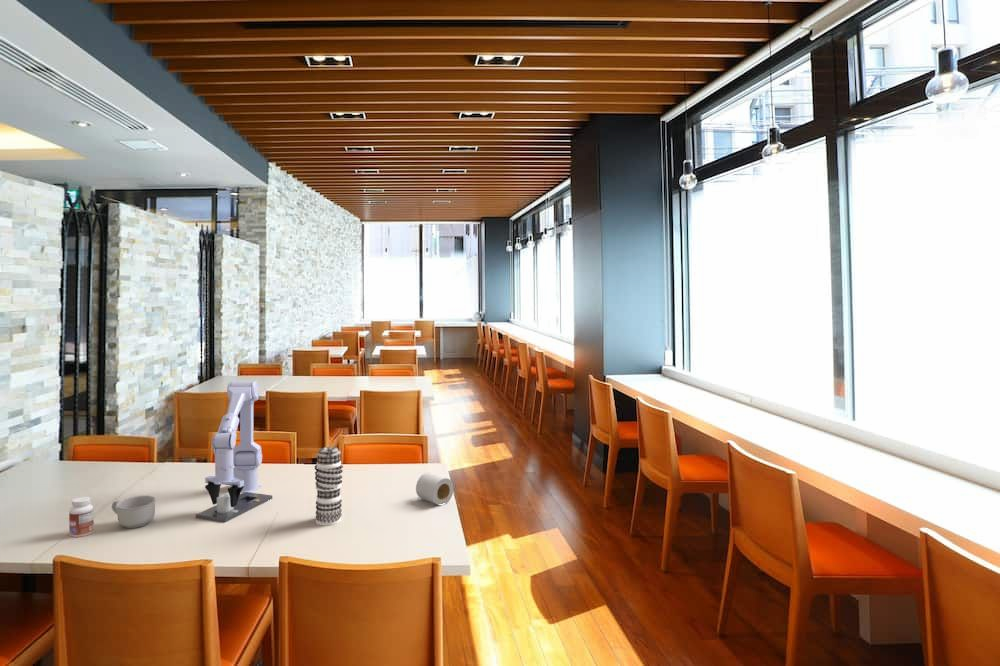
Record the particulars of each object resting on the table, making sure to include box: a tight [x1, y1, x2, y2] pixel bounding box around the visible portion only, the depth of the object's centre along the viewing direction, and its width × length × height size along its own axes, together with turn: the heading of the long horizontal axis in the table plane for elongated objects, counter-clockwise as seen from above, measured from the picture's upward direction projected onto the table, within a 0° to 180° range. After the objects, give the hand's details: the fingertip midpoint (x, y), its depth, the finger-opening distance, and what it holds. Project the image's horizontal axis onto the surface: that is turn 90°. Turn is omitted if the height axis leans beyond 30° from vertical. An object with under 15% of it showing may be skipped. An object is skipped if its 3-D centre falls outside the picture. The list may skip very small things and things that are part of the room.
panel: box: [195, 492, 273, 523], centre depth 204 cm, size 12×24×2 cm, turn 164°
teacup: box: [111, 494, 156, 529], centre depth 188 cm, size 14×11×8 cm
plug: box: [216, 492, 234, 514], centre depth 199 cm, size 3×4×7 cm
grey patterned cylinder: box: [314, 446, 344, 526], centre depth 194 cm, size 9×9×25 cm
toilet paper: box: [415, 472, 454, 506], centre depth 215 cm, size 10×10×10 cm
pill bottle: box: [68, 496, 95, 538], centre depth 180 cm, size 6×6×11 cm
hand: (224, 504), depth 198 cm, fingers open, 7 cm apart
